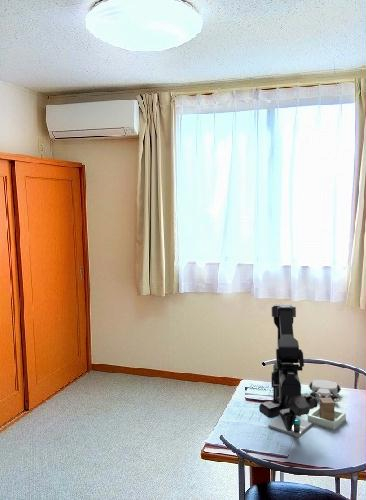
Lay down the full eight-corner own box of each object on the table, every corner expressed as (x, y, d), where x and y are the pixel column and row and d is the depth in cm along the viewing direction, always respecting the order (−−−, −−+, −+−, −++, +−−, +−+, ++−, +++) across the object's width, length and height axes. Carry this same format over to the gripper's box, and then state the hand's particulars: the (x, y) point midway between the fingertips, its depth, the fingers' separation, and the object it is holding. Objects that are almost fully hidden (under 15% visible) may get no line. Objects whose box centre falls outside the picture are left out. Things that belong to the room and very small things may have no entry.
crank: (284, 420, 160) (284, 406, 159) (294, 420, 160) (294, 405, 159) (292, 438, 148) (292, 422, 147) (303, 438, 148) (303, 422, 147)
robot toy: (340, 409, 173) (341, 391, 187) (340, 397, 172) (341, 380, 186) (306, 405, 177) (309, 387, 191) (306, 393, 176) (309, 377, 190)
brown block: (319, 417, 163) (319, 397, 163) (330, 416, 163) (330, 397, 162) (322, 422, 159) (322, 402, 159) (334, 422, 159) (334, 402, 158)
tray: (307, 422, 161) (307, 415, 160) (319, 412, 168) (319, 405, 168) (334, 430, 154) (334, 423, 154) (345, 419, 162) (345, 413, 161)
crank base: (268, 427, 158) (268, 424, 158) (284, 415, 166) (284, 413, 166) (297, 437, 150) (297, 434, 150) (313, 424, 159) (313, 422, 159)
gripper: (279, 398, 135) (279, 449, 137) (329, 387, 143) (329, 435, 144) (258, 385, 145) (258, 432, 147) (306, 375, 153) (306, 420, 154)
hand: (288, 430), depth 148 cm, fingers closed
